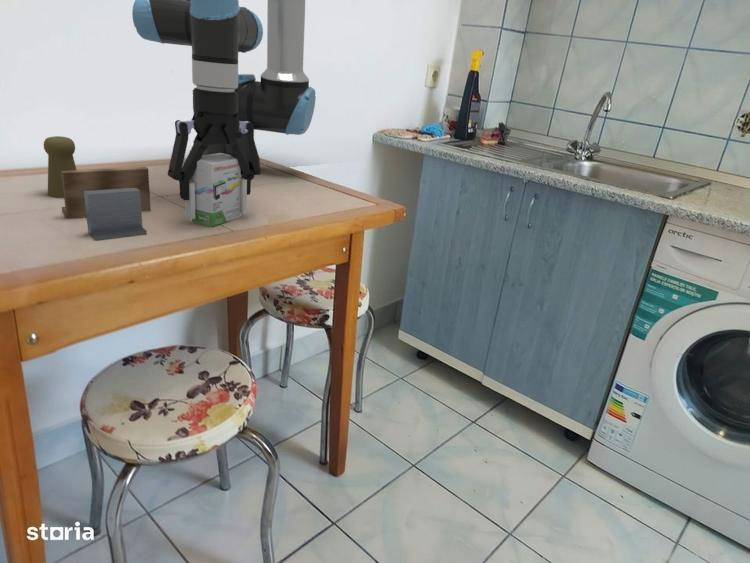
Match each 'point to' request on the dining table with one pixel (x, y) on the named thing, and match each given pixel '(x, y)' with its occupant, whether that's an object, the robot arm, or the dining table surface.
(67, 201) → the brown boxy piece
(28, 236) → the dining table surface
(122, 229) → the bookend
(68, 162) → the cork
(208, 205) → the ink box
